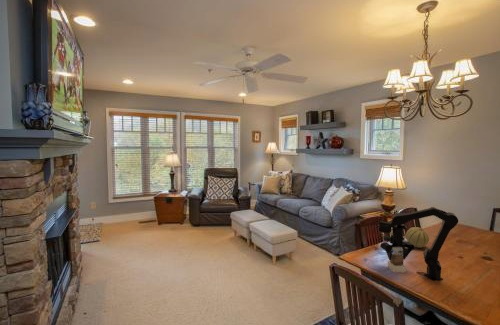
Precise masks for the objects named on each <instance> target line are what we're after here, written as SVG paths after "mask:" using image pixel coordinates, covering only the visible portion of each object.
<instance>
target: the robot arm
mask: <svg viewBox="0 0 500 325" xmlns="http://www.w3.org/2000/svg"><path fill="white" fill-rule="evenodd" d="M431 216H432V217H436V218H438V219H440V220H441V226H440V228H439V231H438V233H437V235H436V236H435V238H434V240H433V243H432V244H431V247H430V248H427V247H426V248H425V250H424V252H423V253H422V255H423V259H424V263H425V264H426V273H424V276H426V277H427V278H428V279H430V280H432V281H443V280H444V278H443V277H442V276H441V275H442V265H441V263H440V261H439V255H440V251H441V249H442V247H443V246H444V243H445V241H446V240H447V237H448V236H449V233H450V231H451V230H453V229H455V227H456V226H457V225H458V224H459V218H458V217H457V216H456V214H455V213H453V212H446V211H445V210H442V209H438V208H436V206H435V207H434V206H431V207H429V208H424V209H420V210H416V211H411V212H409V213H408V212H406V213H404V212H402V213H401V212H400V213H395V214H394V215H393V216H392V219H391V220H390V221H389V222H387V221H383V220H382V221H381V220H380V221H379V226H378V233H381V234H382V233H383V234H391V233H392V234H391V235H390V236H388V235H383V238H382V239H383V241H384V242H381V243H380V245H379V246H380V248H381V249H383V250H384V251H385V253H386V255H387V257H388V261H390V260H391V257H392V254H393V251H394V250H393V249H392V248H401V247H402V249H403V255H402V257H403V261H404V260H406V259H407V257H408V256H409V254H410V253H411V252H412V251H413V250H415V248H416V247H415V246H414V245H413V244H412V243H410V242H403V240H405V239H406V237H404V230H408V227H407V226H406V225H405V224H407V223H410V222H411V221H414V220H418V219H423V218H427V217H431Z"/></svg>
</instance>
